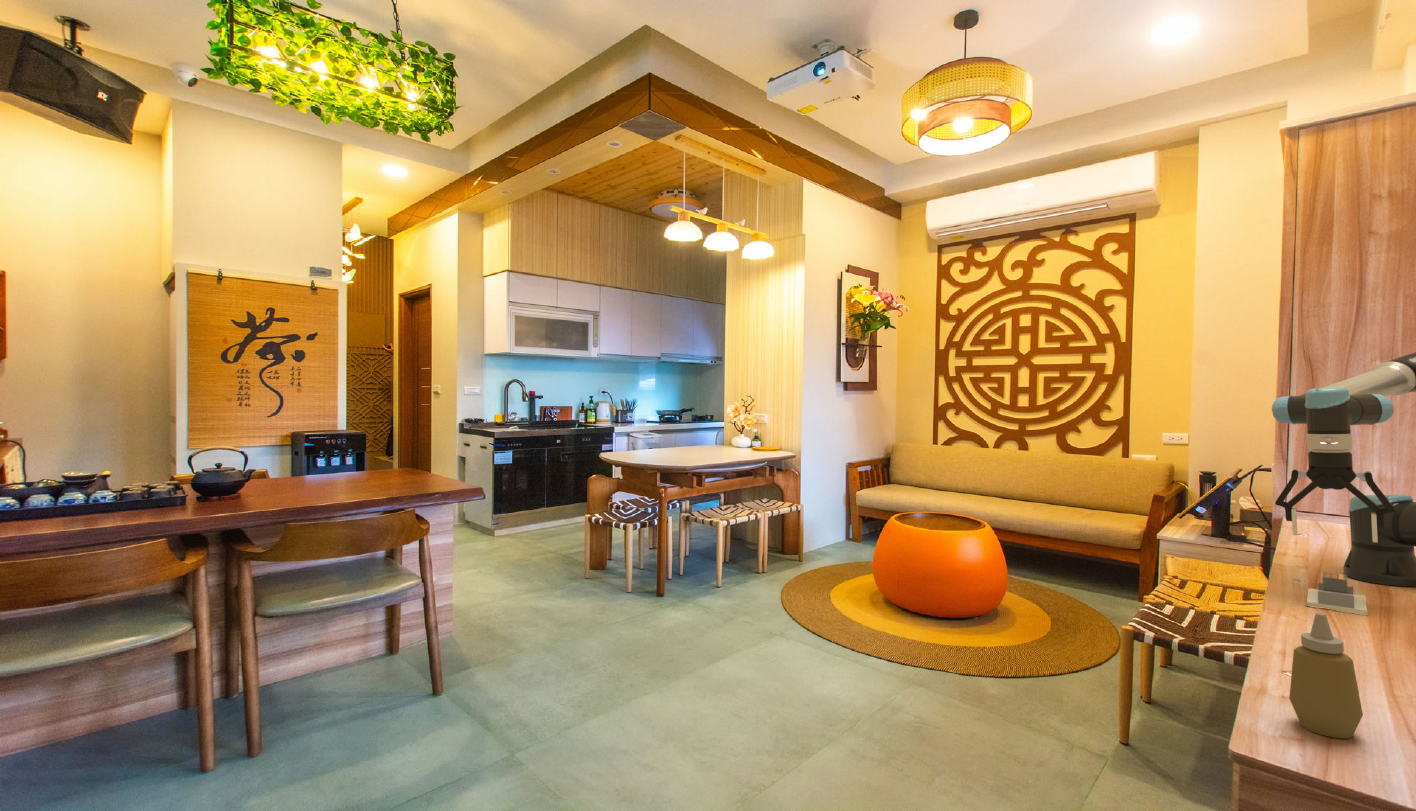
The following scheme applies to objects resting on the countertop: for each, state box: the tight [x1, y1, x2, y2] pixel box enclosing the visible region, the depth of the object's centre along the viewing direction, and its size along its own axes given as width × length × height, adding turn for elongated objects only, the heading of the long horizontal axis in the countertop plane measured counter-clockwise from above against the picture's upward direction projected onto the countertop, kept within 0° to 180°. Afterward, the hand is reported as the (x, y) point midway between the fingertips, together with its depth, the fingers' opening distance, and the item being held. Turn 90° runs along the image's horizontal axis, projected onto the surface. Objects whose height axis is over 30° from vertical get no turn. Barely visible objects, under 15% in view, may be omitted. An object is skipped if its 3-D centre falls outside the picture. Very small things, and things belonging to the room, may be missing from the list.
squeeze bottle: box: [1289, 612, 1364, 739], centre depth 95 cm, size 8×8×18 cm
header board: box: [1306, 581, 1368, 616], centre depth 149 cm, size 14×10×4 cm
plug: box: [1322, 571, 1348, 594], centre depth 148 cm, size 6×4×6 cm, turn 134°
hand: (1333, 537), depth 148 cm, fingers open, 13 cm apart
